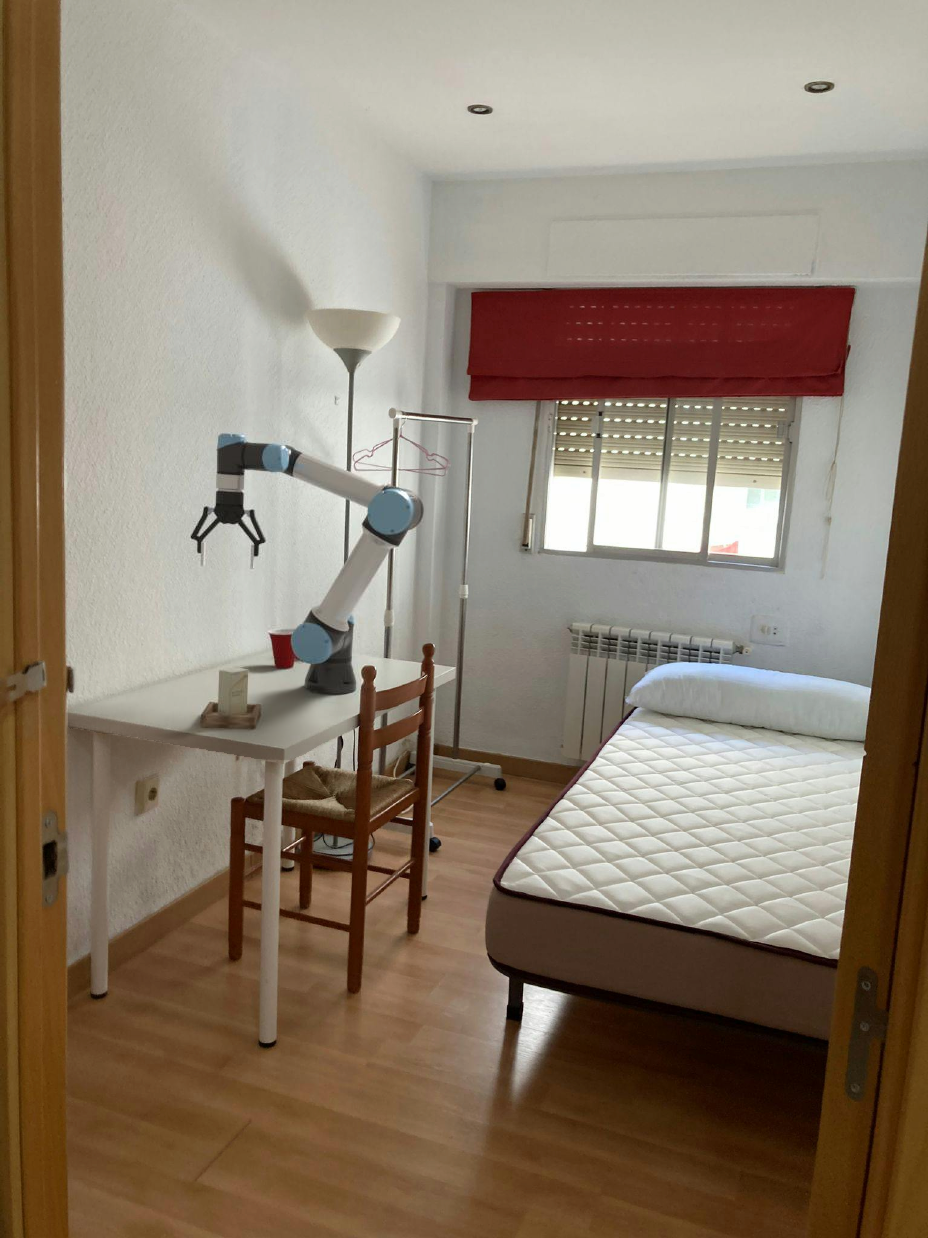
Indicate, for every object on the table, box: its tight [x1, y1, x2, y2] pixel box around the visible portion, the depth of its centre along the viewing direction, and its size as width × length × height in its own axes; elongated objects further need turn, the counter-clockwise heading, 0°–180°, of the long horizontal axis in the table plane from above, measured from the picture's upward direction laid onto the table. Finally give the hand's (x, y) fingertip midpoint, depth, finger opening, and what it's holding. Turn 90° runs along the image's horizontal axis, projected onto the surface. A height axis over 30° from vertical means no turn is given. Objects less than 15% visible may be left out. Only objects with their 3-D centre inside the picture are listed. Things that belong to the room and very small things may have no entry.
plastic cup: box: [267, 628, 296, 669], centre depth 303 cm, size 11×11×12 cm
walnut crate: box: [199, 701, 262, 730], centre depth 237 cm, size 13×13×3 cm
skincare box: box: [217, 666, 249, 716], centre depth 236 cm, size 6×4×12 cm
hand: (227, 566), depth 265 cm, fingers open, 13 cm apart
